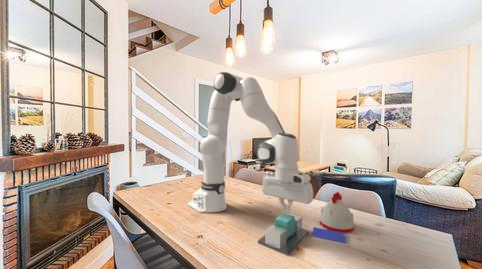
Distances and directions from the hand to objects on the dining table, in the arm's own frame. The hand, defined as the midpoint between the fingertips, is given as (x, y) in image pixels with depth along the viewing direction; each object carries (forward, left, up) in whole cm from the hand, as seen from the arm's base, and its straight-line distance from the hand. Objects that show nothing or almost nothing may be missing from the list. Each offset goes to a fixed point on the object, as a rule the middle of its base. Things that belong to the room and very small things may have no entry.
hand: (285, 209), depth 81 cm
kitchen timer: (+13, +25, -11) cm, 30 cm away
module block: (0, 0, -9) cm, 9 cm away
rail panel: (0, 0, -11) cm, 11 cm away
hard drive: (+13, +12, -12) cm, 22 cm away
